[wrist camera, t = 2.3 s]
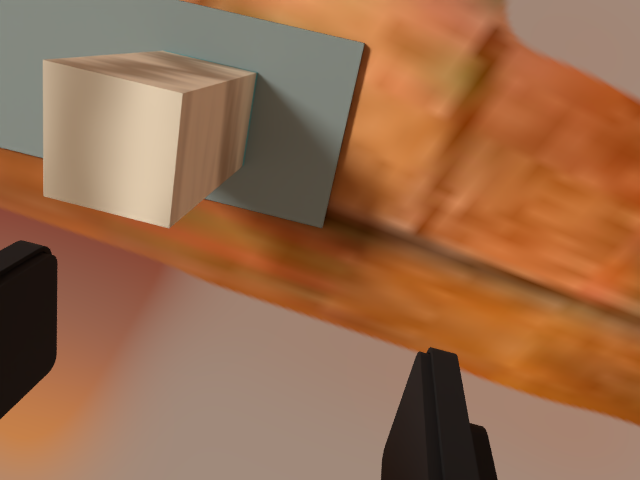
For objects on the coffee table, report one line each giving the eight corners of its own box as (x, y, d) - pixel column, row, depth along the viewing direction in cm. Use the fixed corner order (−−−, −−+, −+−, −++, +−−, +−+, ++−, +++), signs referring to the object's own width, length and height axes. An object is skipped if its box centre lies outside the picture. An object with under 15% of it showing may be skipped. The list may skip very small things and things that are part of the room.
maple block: (258, 72, 32) (182, 93, 21) (243, 165, 34) (169, 228, 23) (165, 50, 32) (42, 59, 21) (157, 143, 34) (43, 196, 23)
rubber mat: (364, 43, 31) (364, 43, 30) (323, 225, 35) (322, 228, 35) (-41, -51, 32) (-48, -52, 32) (-30, 137, 37) (-35, 138, 36)
